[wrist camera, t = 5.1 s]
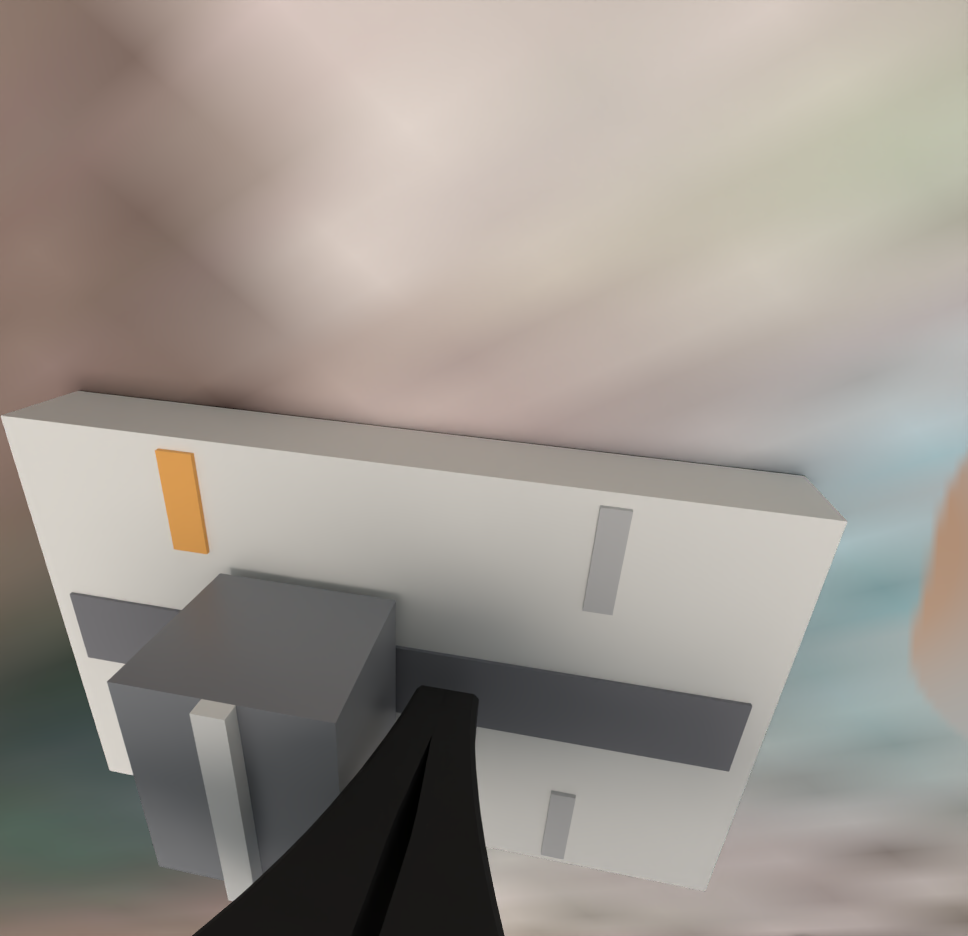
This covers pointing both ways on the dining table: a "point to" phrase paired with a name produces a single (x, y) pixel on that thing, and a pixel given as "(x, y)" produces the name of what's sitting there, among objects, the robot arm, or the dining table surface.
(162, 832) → the fader cap
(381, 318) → the dining table surface
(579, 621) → the console
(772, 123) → the dining table surface
